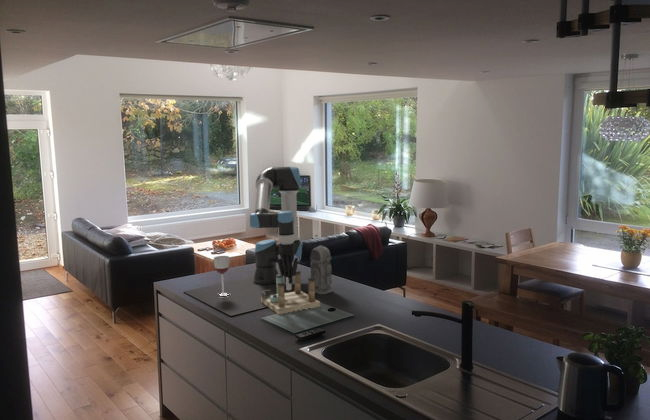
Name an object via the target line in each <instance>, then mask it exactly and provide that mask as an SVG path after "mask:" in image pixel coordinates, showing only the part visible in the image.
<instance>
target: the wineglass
mask: <svg viewBox="0 0 650 420" xmlns="http://www.w3.org/2000/svg"><path fill="white" fill-rule="evenodd" d="M213 264H214V269H215V271H216V272H217V273H218V274H220V275H221V292H220V293H221V294H219V293H218V294H219V295H220V296H227V295H229V294H230V293H229V294H227V293H228V292H224V291H225V290H224V289H225V288H224V287H225V286H224V274H225V273H226V272H228V270H229V269H230V256H228V255H218V256H215V257H213ZM227 297H228V296H227Z"/></svg>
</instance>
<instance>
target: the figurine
mask: <svg viewBox="0 0 650 420" xmlns="http://www.w3.org/2000/svg"><path fill="white" fill-rule="evenodd" d="M310 251H311V252H310V256H309V259H310V261H311V262H310V278H315V294H318V295H326V294H329V293H332V292H333V288H332V287H331V284H332V282H333V280H332V275H333V274H332V272H333V271H332V270H333V269H332V264H331V260H332V259H333V258H332V256H331V252H330V249H329V248H328V247H326V246H323V245H321V244H320V245H318V246H316V247H314V248H313V249H311V250H310Z"/></svg>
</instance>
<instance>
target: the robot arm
mask: <svg viewBox="0 0 650 420" xmlns="http://www.w3.org/2000/svg"><path fill="white" fill-rule="evenodd" d="M255 188H256V196H255V197H256V198H255V204H254V205H255V206H254V212H253V213H250V214H249V226H250V228H253V229H264V228H265V229H269V228H270V229H271V228H273V229H278V241H276V239H263V240H261V241H258V242H256V243H255V245H254V246H255V249H254V252H255V270H254V274H253V276H252V282H253V283H254V282H255V283H254V284H257V283H258V284H260V285H272V284H276V275H278V274H279V272H280V274H281V275H283V277H284V284H285V287H286V289H285V290H286V291H291V290H292V284H293V277H295V275H296V271H298V270H297V269H298V265H299V262H300V261H301V259H302V253H303V251H302V250H303V241H301V238H300V237H299V236H298V217H297V216H298V209H297V208H298V207H297V205H298V203H297V202H298V201H297V200H298V199H297V194H298V193H299V191H300V188H302V180H301V173H300V169H299V167H296V166H276V167H275V166H272V167H271V166H270V167H268V168H266V169H264V170H263V171H261V173H260V174H259V175H258V176H257V178H256V180H255ZM273 188H274V189H278V192H279V193H280V197H281V201H280V202H281V203H280V204H281V205H280V207H281V211H279V212H270V210H271V209H270V208H271V196H272V194H271V192H272V190H273ZM277 264H278V267H277ZM277 268H279V271H278V269H277ZM258 284H257V285H258Z"/></svg>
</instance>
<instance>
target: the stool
mask: <svg viewBox="0 0 650 420" xmlns="http://www.w3.org/2000/svg"><path fill="white" fill-rule="evenodd" d="M301 281H302V280H301V270H297V271H296V275H295V276H294V291H289V292H285V282H283V283H278V302H276V303H273V302H270V297H271V296H273V297H277V295H276V294H277V293H276V294H271V291H272V289H266V290H262V291H261V297H260V302H261V304H263V305H265V306H266V307H267V308H269V309H271V311H272V312H274V313H275V314H277V315H283V313H284V314H289V313H294V312H293V311H295V312H298V311H297V310H300V311H303V310H302V309H306V310H309V309H308V308H311V309H315V308H316V307H317V308H321V301H319V300H318V299H316V298H315V297H316V293H315V278H311V277H309V278H307V281H308V287H307V289H308V293H305V292H304V291H302V289H301V287H302V286H301V283H302V282H301ZM288 312H289V313H288Z"/></svg>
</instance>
